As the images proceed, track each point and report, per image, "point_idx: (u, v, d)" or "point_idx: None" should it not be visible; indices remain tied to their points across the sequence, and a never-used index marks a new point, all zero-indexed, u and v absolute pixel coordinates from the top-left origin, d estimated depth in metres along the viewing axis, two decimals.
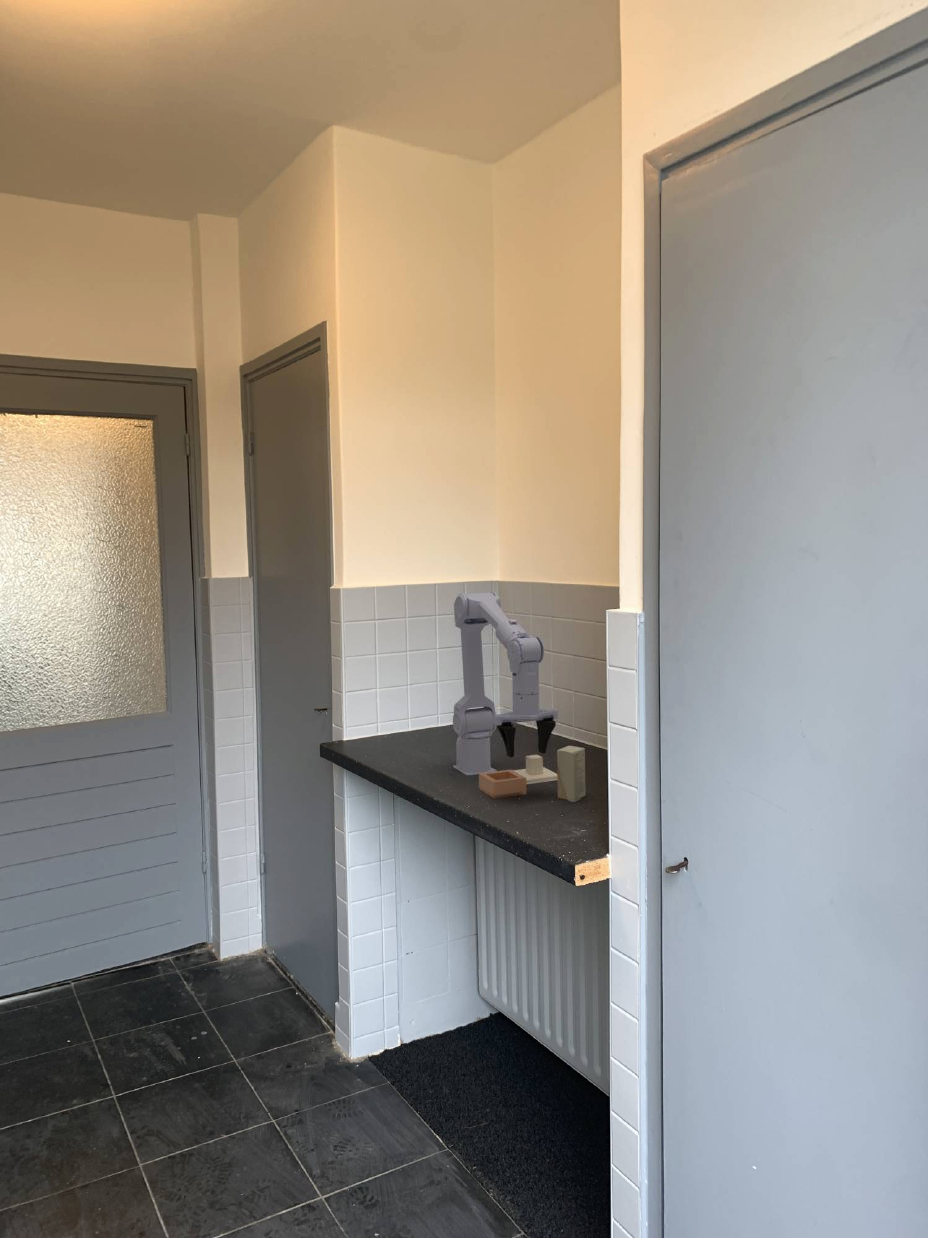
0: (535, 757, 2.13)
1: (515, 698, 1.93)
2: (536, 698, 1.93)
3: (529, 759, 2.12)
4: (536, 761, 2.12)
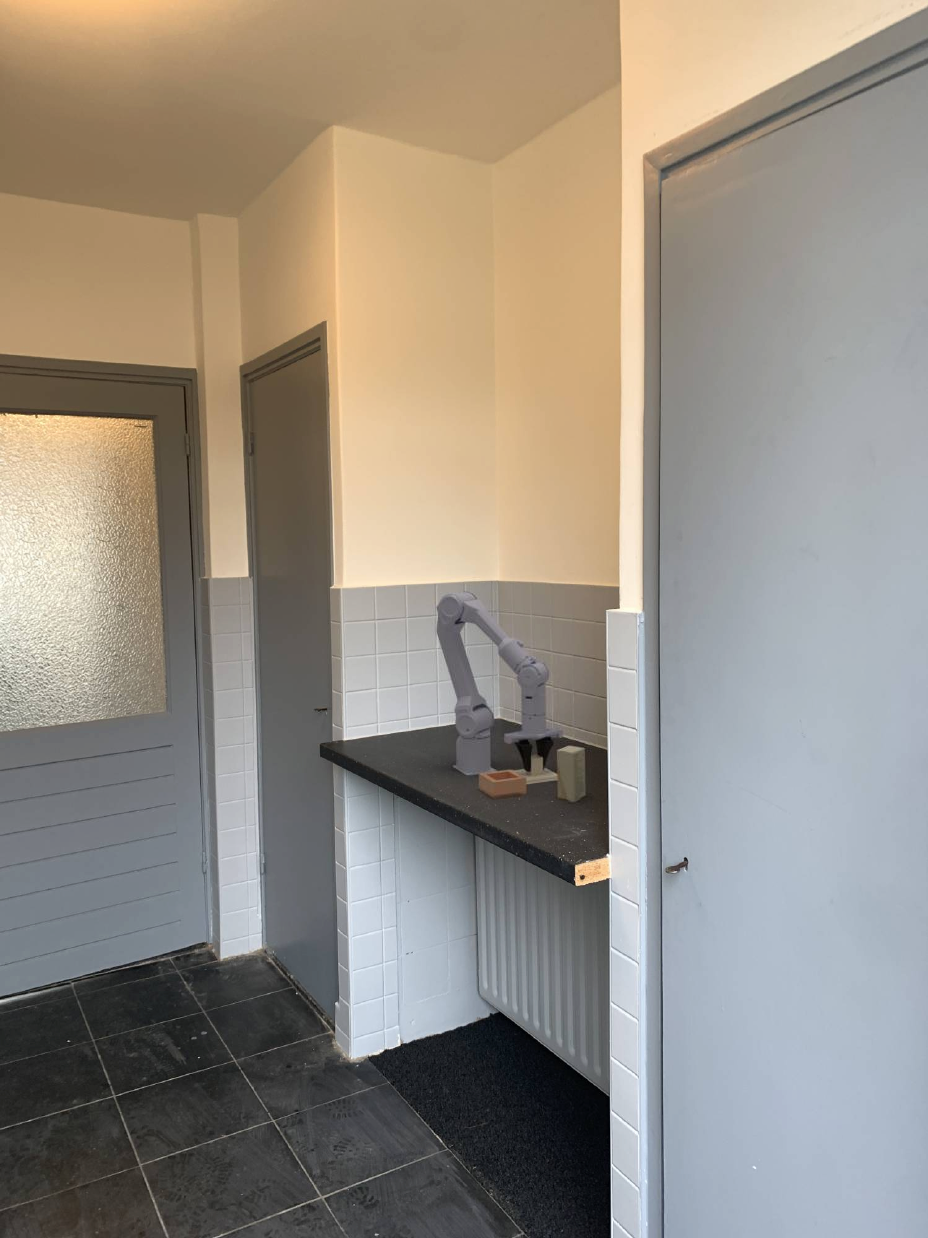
0: (535, 757, 2.13)
1: (524, 718, 2.11)
2: (543, 718, 2.10)
3: None
4: (536, 761, 2.12)
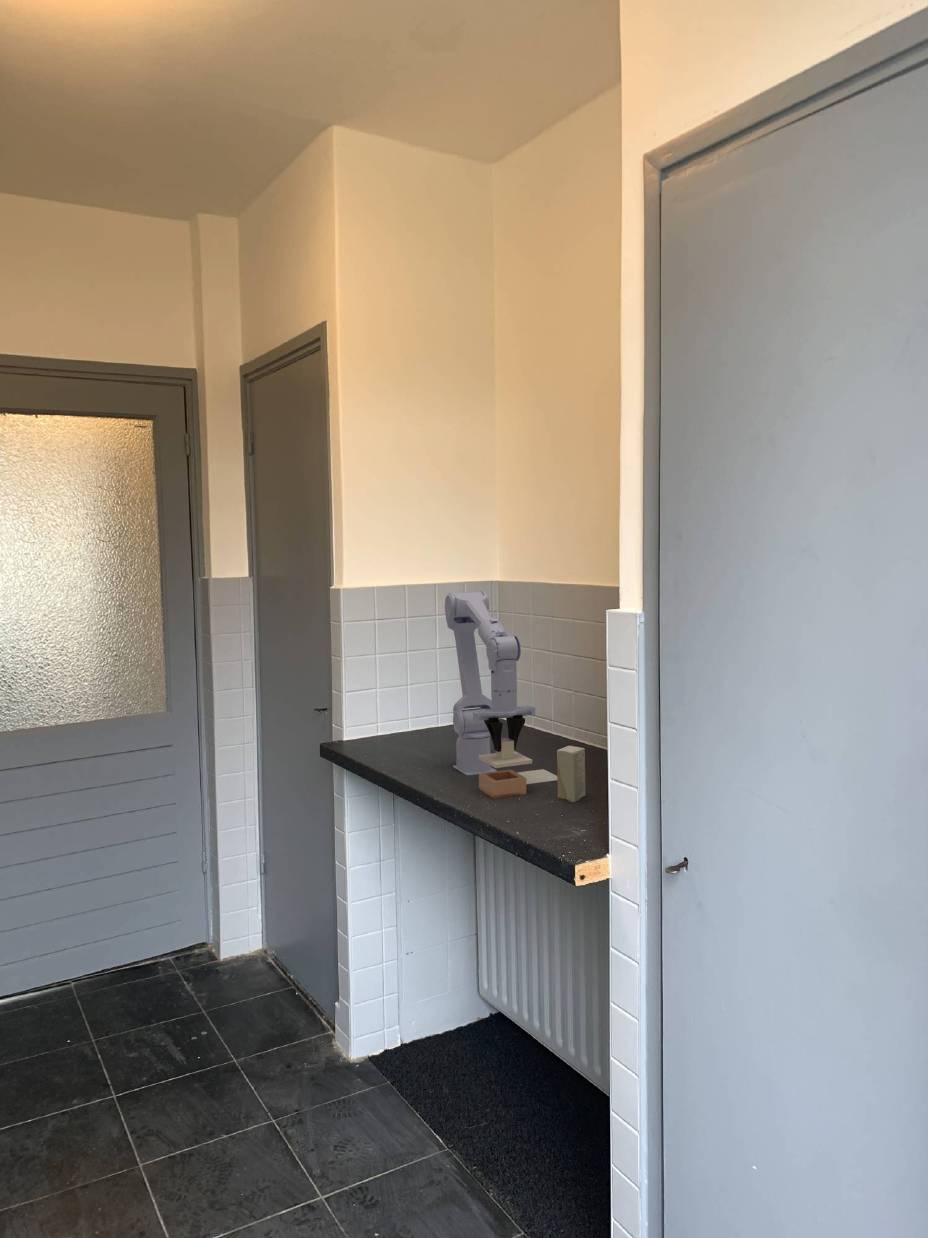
0: (505, 740, 2.01)
1: (493, 695, 1.99)
2: (514, 695, 1.99)
3: None
4: (507, 744, 2.00)
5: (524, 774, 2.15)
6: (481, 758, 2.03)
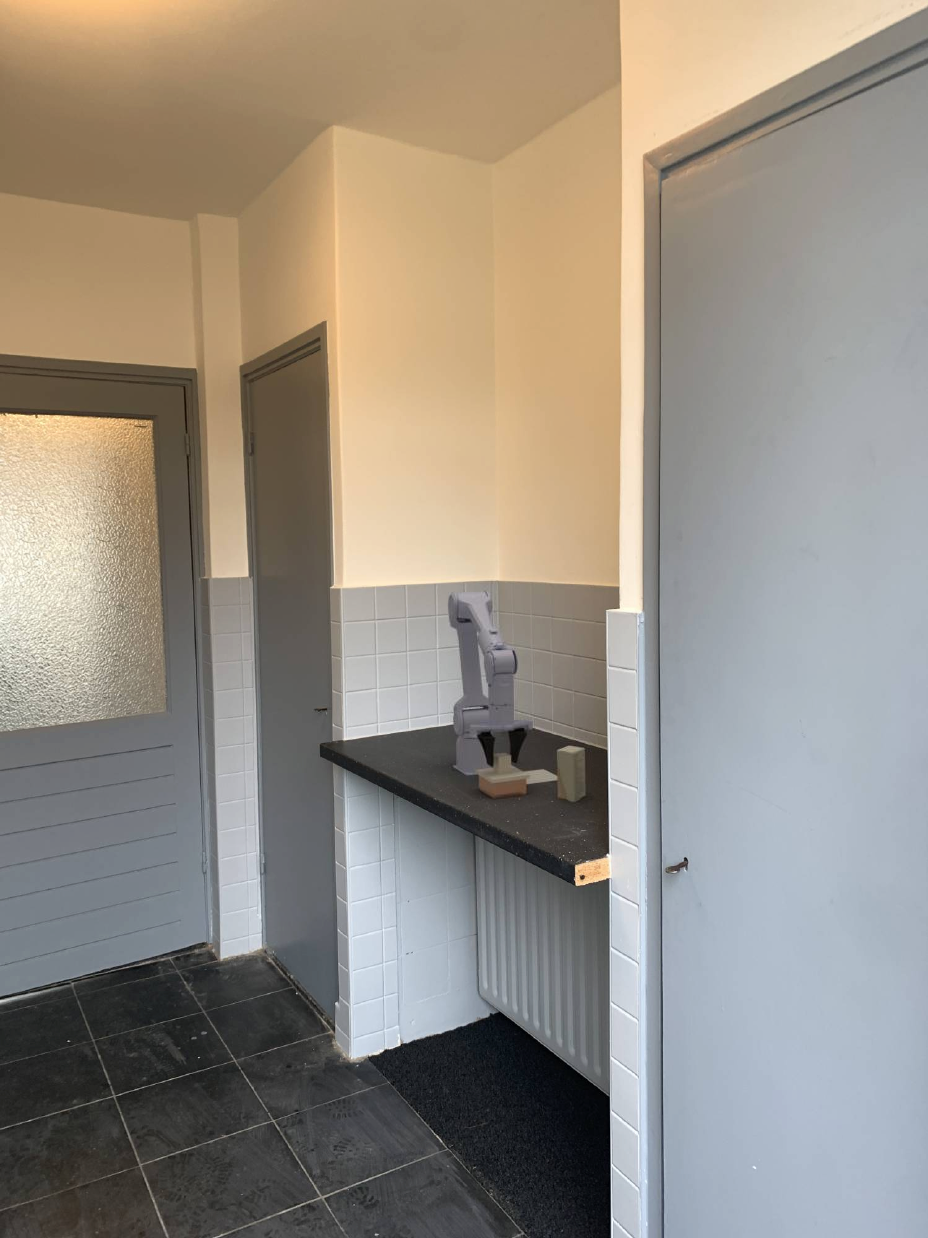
0: (502, 755, 2.01)
1: (491, 709, 1.98)
2: (511, 709, 1.98)
3: (496, 757, 2.00)
4: (504, 759, 1.99)
5: None
6: (478, 773, 2.02)
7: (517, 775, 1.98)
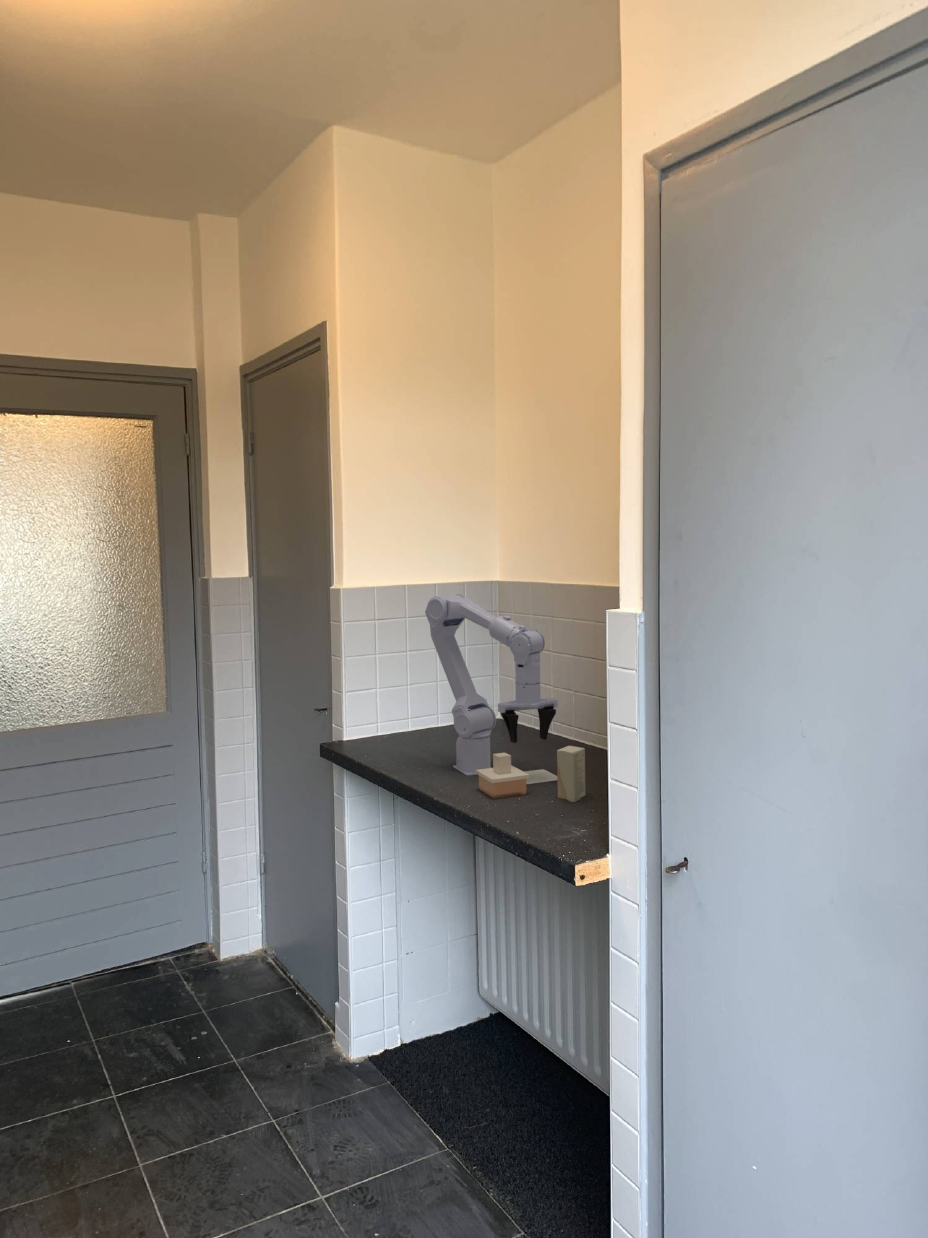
0: (502, 755, 2.01)
1: (518, 687, 2.07)
2: (537, 687, 2.06)
3: (496, 757, 2.00)
4: (504, 759, 1.99)
5: None
6: (478, 773, 2.02)
7: (517, 775, 1.98)
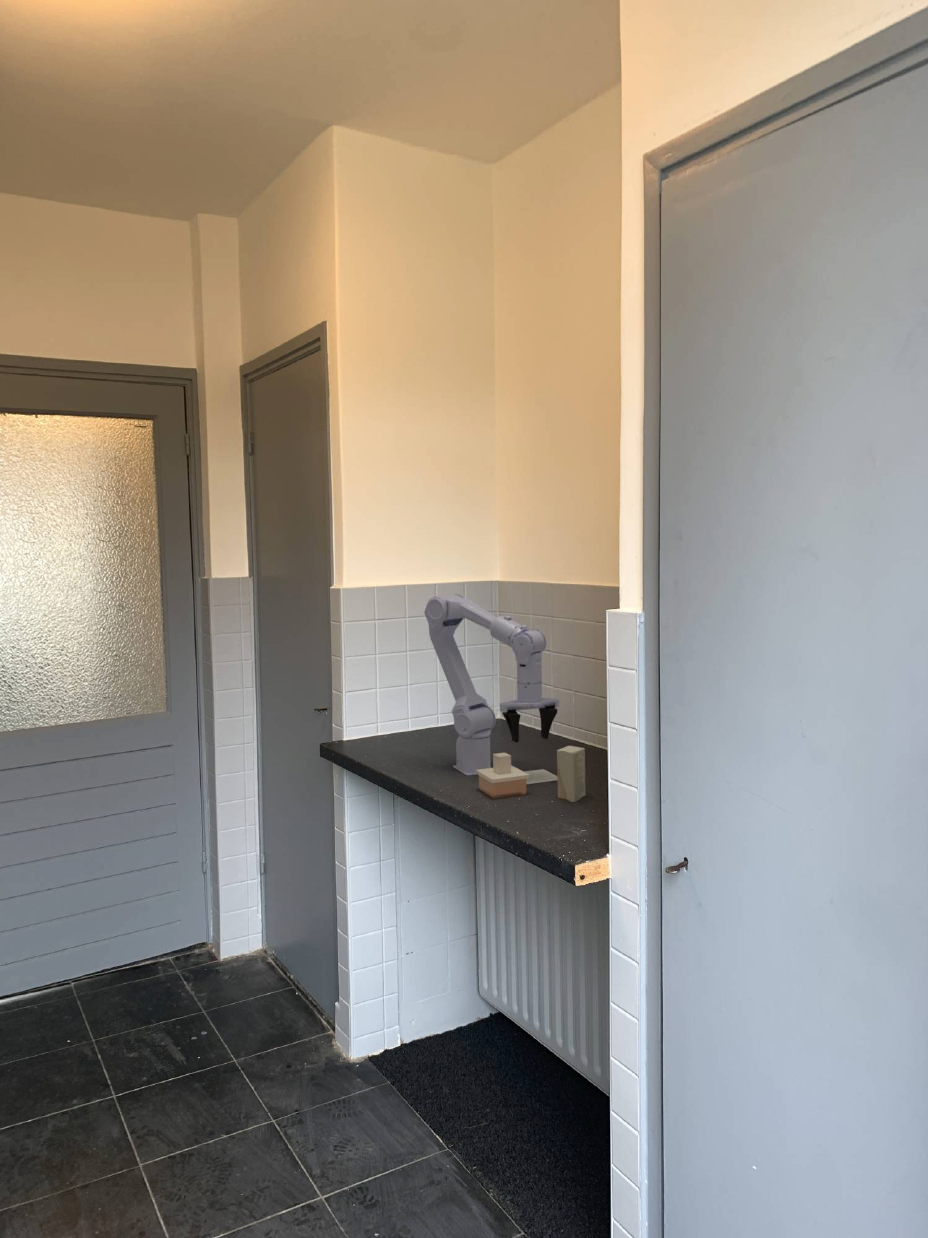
0: (502, 755, 2.01)
1: (519, 687, 2.07)
2: (539, 687, 2.07)
3: (496, 757, 2.00)
4: (504, 759, 1.99)
5: None
6: (478, 773, 2.02)
7: (517, 775, 1.98)
